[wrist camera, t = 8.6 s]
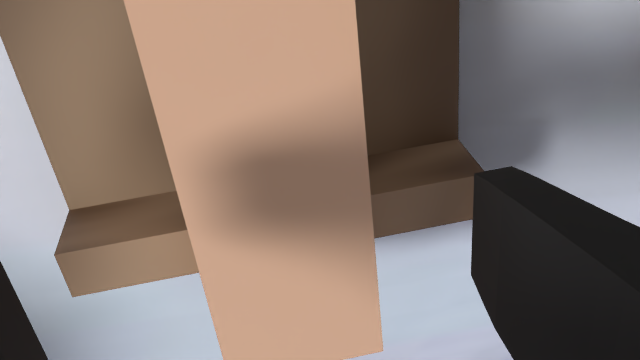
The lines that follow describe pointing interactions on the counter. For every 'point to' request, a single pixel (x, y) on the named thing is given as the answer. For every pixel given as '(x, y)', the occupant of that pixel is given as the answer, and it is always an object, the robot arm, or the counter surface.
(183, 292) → the counter surface
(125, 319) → the counter surface
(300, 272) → the clay strip
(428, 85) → the brown wooden stand
